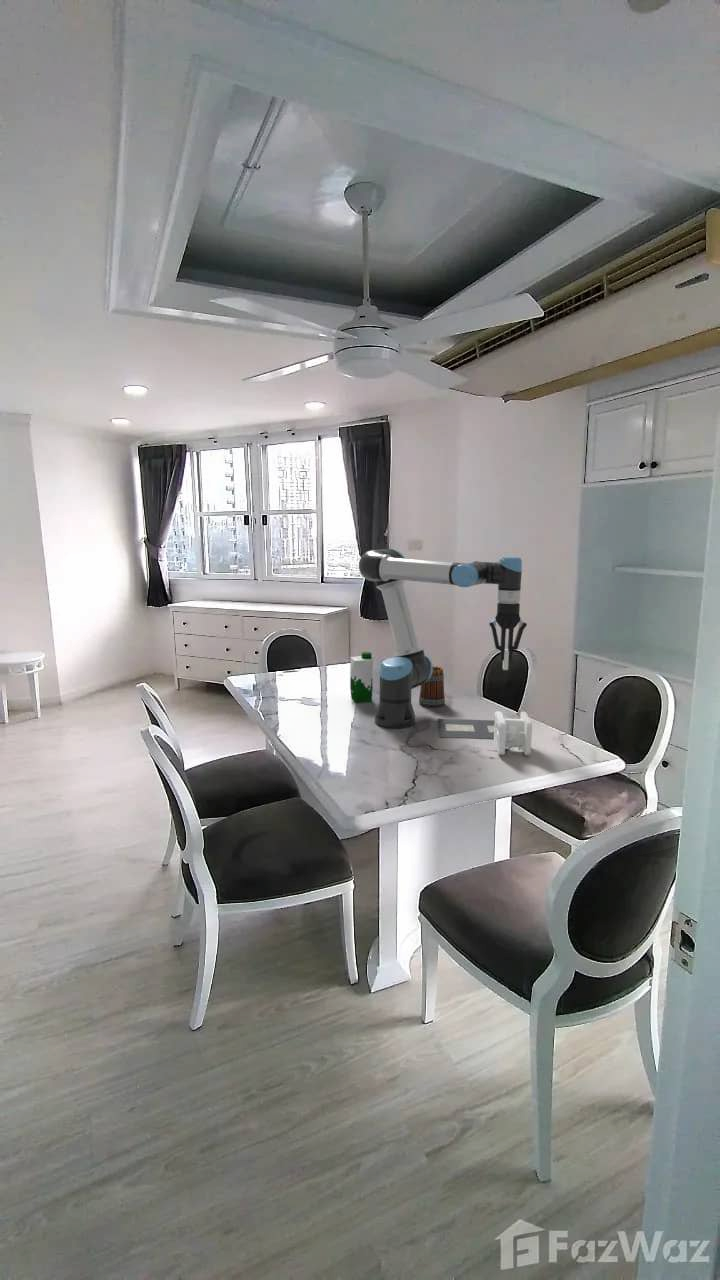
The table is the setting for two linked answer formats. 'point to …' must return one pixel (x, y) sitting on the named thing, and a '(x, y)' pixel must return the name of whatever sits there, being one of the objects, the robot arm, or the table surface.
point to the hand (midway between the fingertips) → (505, 668)
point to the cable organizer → (512, 733)
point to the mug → (433, 690)
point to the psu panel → (466, 728)
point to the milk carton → (361, 678)
